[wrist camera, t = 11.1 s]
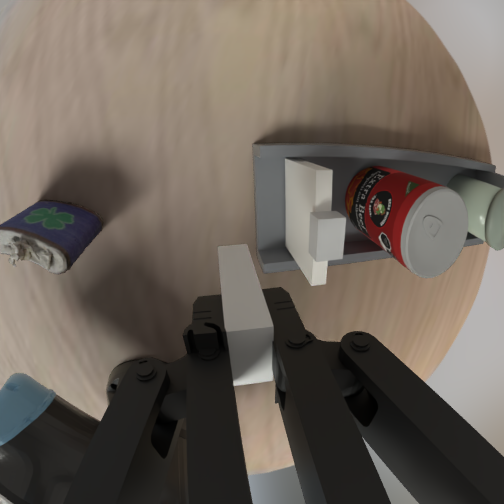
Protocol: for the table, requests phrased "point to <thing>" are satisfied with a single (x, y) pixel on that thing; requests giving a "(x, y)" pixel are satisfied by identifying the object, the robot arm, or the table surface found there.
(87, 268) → the table surface
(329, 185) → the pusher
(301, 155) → the lane
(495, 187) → the green jar
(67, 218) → the flask
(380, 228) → the canned food
